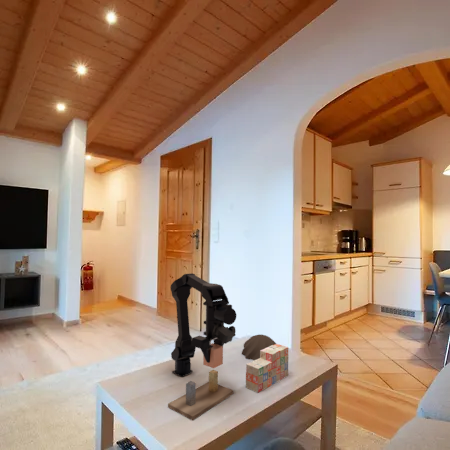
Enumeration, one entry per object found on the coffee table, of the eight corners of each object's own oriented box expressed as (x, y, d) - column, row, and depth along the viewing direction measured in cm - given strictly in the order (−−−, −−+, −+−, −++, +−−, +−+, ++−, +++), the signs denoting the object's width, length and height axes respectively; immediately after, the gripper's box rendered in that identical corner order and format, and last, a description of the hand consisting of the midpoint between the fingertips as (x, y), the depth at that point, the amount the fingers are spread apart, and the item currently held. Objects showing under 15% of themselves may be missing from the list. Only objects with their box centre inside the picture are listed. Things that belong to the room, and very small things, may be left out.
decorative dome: (267, 366, 142) (267, 344, 143) (233, 355, 155) (234, 335, 156) (288, 354, 157) (288, 334, 158) (255, 345, 170) (255, 326, 170)
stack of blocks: (258, 393, 117) (258, 360, 118) (245, 387, 122) (245, 356, 122) (288, 375, 133) (288, 346, 133) (276, 371, 137) (276, 343, 138)
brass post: (208, 393, 117) (208, 371, 117) (212, 391, 118) (213, 369, 119) (213, 395, 115) (213, 373, 115) (217, 393, 117) (217, 371, 117)
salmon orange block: (203, 364, 117) (203, 346, 117) (212, 360, 121) (212, 343, 121) (213, 368, 113) (213, 350, 114) (222, 363, 117) (222, 346, 118)
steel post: (185, 407, 107) (186, 383, 108) (190, 404, 109) (190, 380, 109) (190, 409, 106) (190, 385, 106) (195, 406, 108) (195, 383, 108)
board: (168, 407, 107) (168, 403, 107) (210, 383, 124) (210, 380, 124) (192, 420, 100) (192, 416, 100) (233, 393, 117) (233, 390, 117)
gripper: (213, 328, 105) (212, 374, 105) (245, 317, 120) (244, 358, 119) (190, 322, 112) (189, 365, 112) (222, 312, 127) (222, 351, 126)
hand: (213, 360), depth 117 cm, fingers closed on salmon orange block, 5 cm apart
